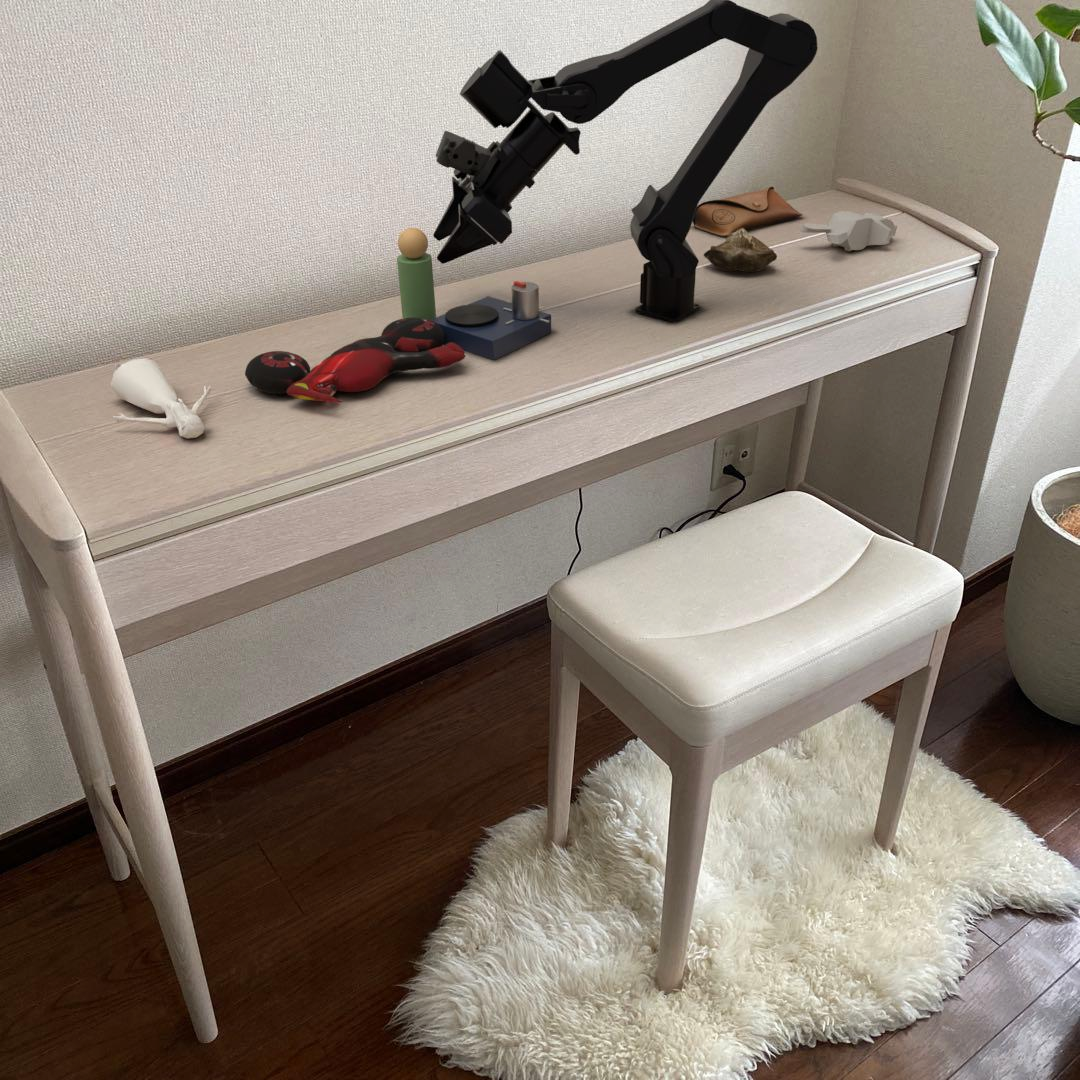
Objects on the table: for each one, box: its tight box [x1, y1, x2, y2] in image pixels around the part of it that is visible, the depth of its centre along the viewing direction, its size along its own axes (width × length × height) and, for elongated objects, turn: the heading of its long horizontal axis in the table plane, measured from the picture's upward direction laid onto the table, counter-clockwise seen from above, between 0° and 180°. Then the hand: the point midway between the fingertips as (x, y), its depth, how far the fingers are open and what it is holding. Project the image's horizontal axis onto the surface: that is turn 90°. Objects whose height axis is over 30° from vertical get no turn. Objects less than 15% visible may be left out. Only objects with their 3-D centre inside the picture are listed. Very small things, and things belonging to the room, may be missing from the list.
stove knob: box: [511, 280, 540, 320], centre depth 134 cm, size 3×3×4 cm
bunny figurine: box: [799, 210, 898, 252], centre depth 162 cm, size 10×5×15 cm
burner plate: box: [445, 304, 499, 328], centre depth 135 cm, size 7×7×1 cm
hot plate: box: [431, 295, 552, 361], centre depth 136 cm, size 12×12×3 cm
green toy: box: [396, 227, 437, 320], centre depth 136 cm, size 4×4×13 cm
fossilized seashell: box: [703, 228, 778, 273], centre depth 154 cm, size 8×7×10 cm
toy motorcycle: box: [244, 317, 467, 403], centre depth 125 cm, size 25×5×16 cm
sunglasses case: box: [692, 186, 803, 237], centre depth 174 cm, size 18×7×7 cm
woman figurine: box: [110, 357, 212, 440], centre depth 118 cm, size 12×4×18 cm
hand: (437, 249), depth 134 cm, fingers open, 9 cm apart
